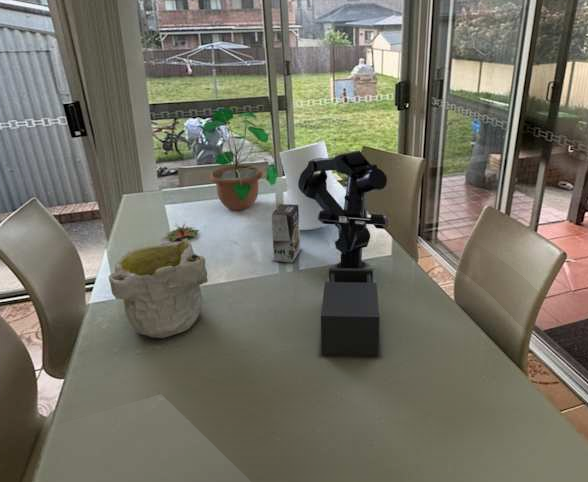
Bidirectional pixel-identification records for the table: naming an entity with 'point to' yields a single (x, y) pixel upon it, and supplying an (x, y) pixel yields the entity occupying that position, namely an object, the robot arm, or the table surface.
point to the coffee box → (286, 232)
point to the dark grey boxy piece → (351, 275)
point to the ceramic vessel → (160, 287)
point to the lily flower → (181, 233)
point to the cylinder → (293, 167)
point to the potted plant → (237, 179)
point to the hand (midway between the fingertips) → (349, 250)
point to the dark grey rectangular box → (350, 319)
